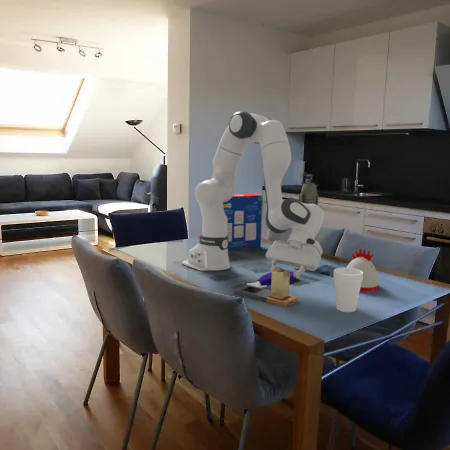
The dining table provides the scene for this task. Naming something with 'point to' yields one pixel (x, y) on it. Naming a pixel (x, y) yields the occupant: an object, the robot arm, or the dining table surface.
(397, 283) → the dining table surface
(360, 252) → the kitchen timer
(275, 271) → the tan square peg
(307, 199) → the olive green tall piece
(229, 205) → the pasta box
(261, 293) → the peg insertion board
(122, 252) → the dining table surface
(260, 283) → the purple flat blob
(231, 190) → the robot arm
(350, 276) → the foam cup
